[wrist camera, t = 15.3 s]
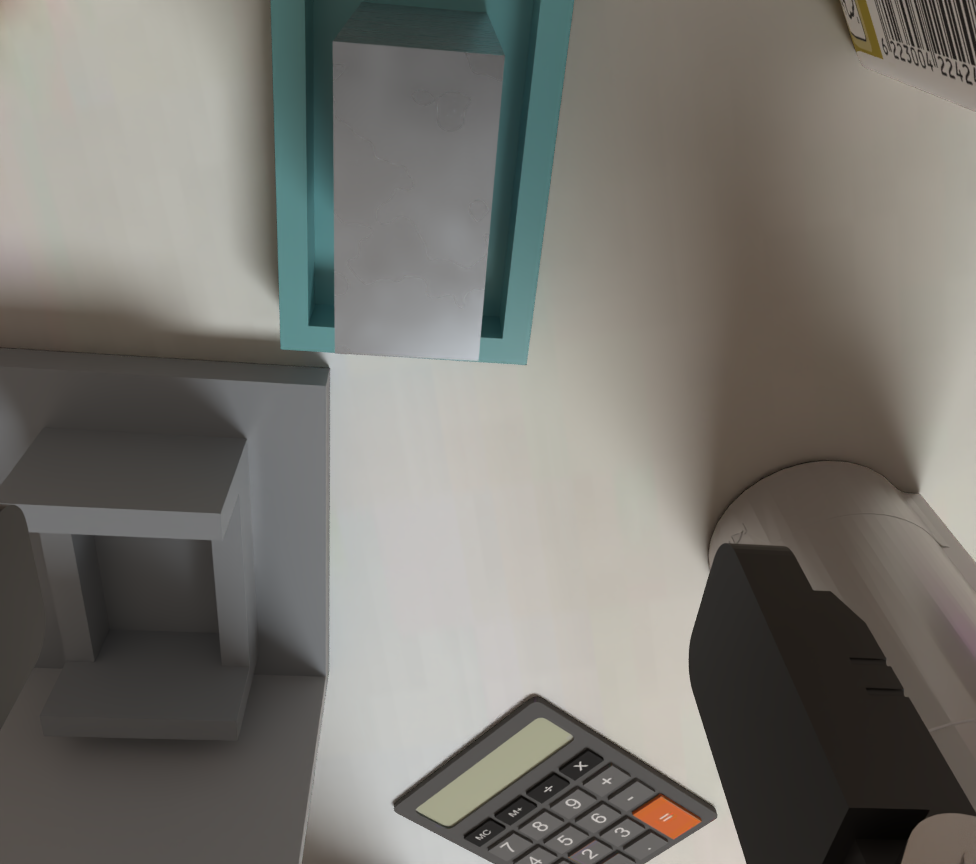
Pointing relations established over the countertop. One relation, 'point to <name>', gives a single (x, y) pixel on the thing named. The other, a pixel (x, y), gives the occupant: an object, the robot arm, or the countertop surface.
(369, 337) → the block
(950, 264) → the countertop surface
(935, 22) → the juice carton
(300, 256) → the tray
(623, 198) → the countertop surface
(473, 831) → the calculator
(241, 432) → the grey stand
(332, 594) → the countertop surface
